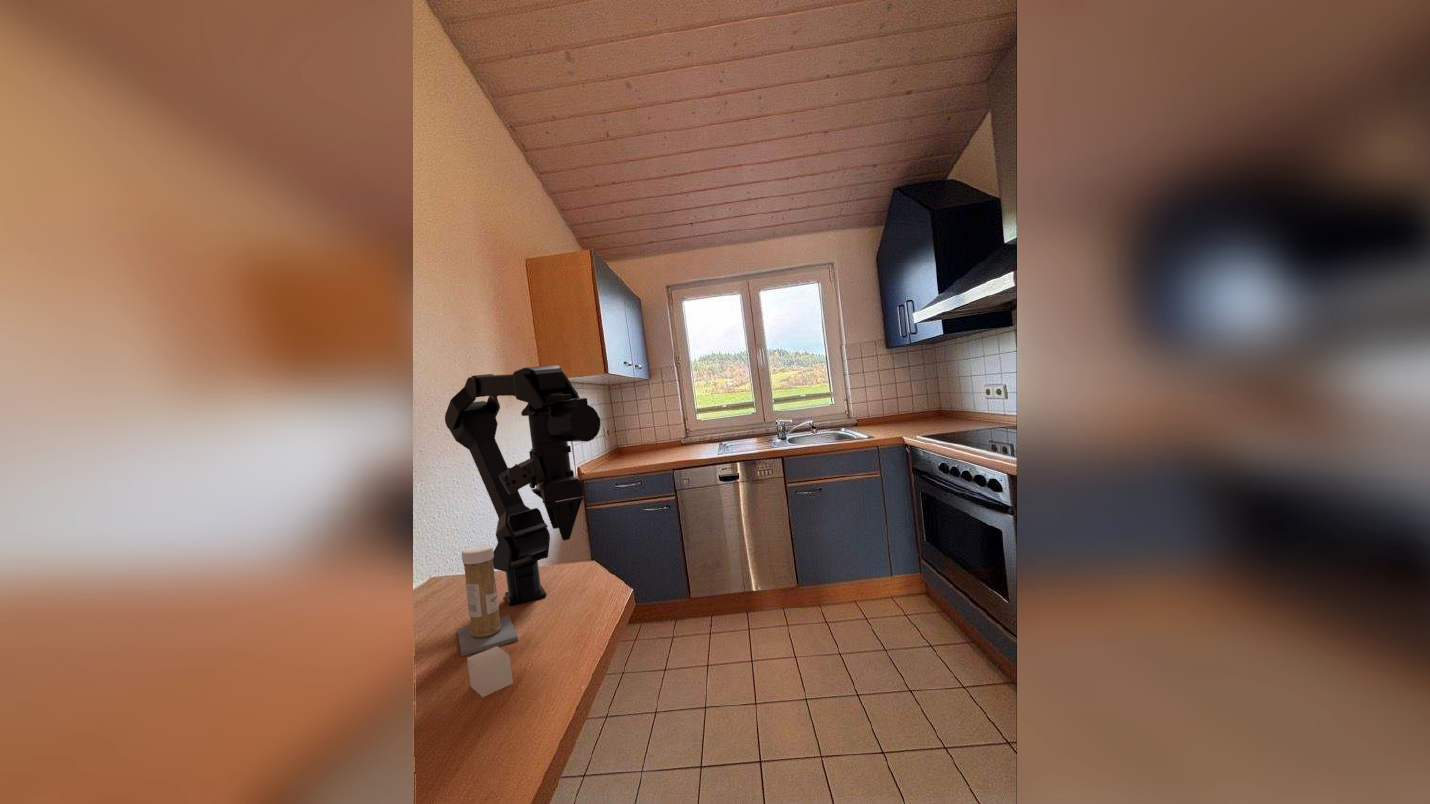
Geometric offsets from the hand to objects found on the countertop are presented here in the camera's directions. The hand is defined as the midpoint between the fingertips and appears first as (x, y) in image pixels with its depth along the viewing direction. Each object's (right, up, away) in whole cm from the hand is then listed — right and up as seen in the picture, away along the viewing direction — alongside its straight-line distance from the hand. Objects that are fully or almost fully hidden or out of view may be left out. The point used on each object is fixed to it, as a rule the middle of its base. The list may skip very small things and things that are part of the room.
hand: (561, 533), depth 102 cm
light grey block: (-3, -15, -22) cm, 27 cm away
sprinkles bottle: (-10, -14, -7) cm, 19 cm away
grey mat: (-10, -15, -7) cm, 19 cm away
